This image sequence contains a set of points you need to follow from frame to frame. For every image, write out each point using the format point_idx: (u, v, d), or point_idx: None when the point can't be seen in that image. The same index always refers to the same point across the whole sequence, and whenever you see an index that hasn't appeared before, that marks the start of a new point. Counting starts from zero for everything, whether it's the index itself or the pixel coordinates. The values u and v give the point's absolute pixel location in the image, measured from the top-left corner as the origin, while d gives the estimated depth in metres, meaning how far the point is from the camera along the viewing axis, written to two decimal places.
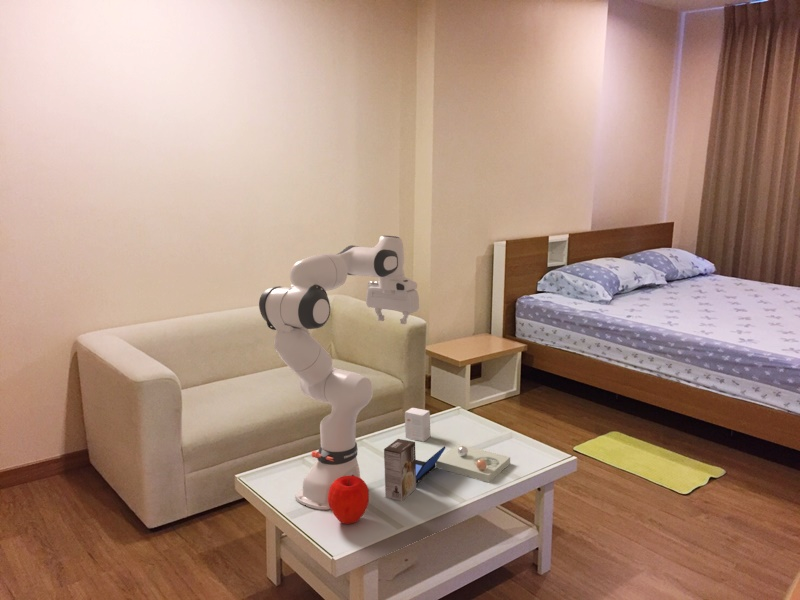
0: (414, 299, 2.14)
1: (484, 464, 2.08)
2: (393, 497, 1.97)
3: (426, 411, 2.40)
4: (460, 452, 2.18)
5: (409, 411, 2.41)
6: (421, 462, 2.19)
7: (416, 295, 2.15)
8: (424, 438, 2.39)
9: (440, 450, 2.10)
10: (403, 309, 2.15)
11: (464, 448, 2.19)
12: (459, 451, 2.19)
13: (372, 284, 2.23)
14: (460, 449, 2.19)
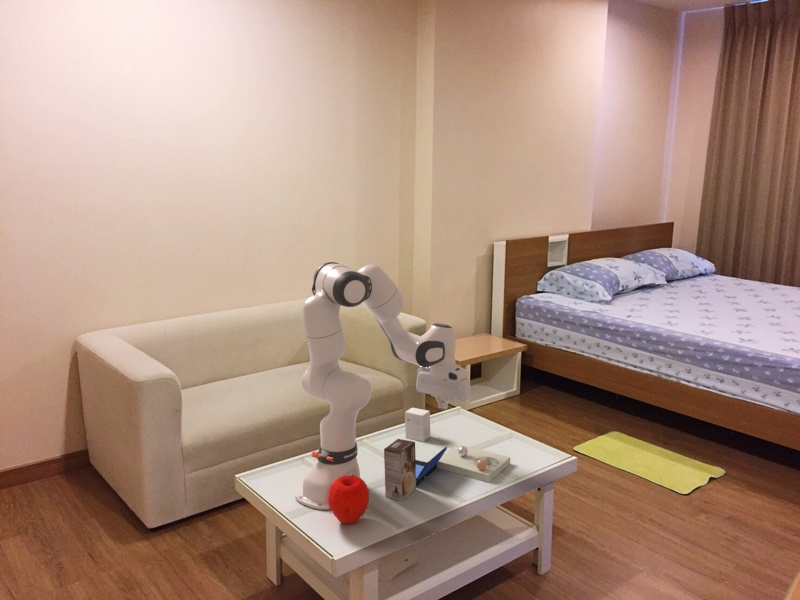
0: (467, 388, 2.14)
1: (484, 464, 2.08)
2: (393, 497, 1.97)
3: (426, 411, 2.40)
4: (460, 452, 2.18)
5: (409, 411, 2.41)
6: (422, 462, 2.18)
7: (468, 383, 2.15)
8: (424, 438, 2.39)
9: (442, 450, 2.10)
10: (455, 397, 2.16)
11: (464, 448, 2.19)
12: (459, 451, 2.19)
13: (422, 369, 2.23)
14: (460, 449, 2.19)
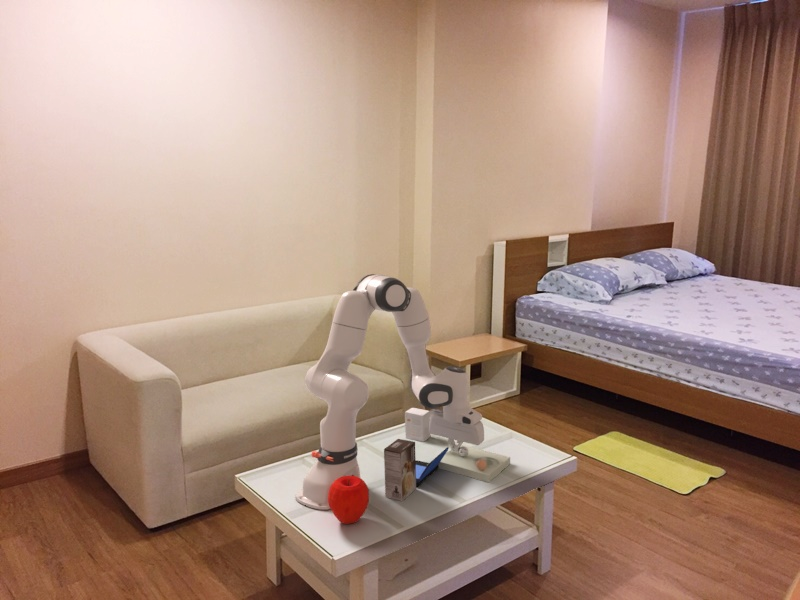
0: (480, 432, 2.14)
1: (484, 464, 2.08)
2: (393, 497, 1.97)
3: (426, 411, 2.40)
4: (461, 452, 2.18)
5: (409, 411, 2.41)
6: (424, 463, 2.18)
7: (482, 427, 2.15)
8: (424, 438, 2.39)
9: (444, 451, 2.09)
10: (468, 441, 2.16)
11: (465, 449, 2.19)
12: (460, 451, 2.19)
13: (435, 411, 2.24)
14: (461, 449, 2.19)
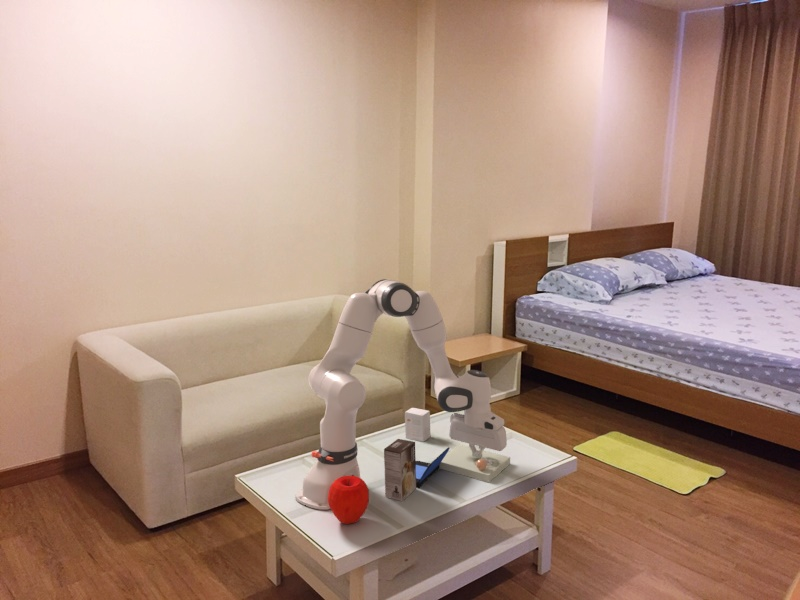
0: (503, 438, 2.09)
1: (484, 464, 2.08)
2: (393, 497, 1.97)
3: (426, 411, 2.40)
4: None
5: (409, 411, 2.41)
6: (425, 463, 2.18)
7: (504, 433, 2.10)
8: (424, 438, 2.39)
9: (445, 451, 2.09)
10: (490, 447, 2.11)
11: (489, 461, 2.14)
12: None
13: (455, 416, 2.19)
14: None
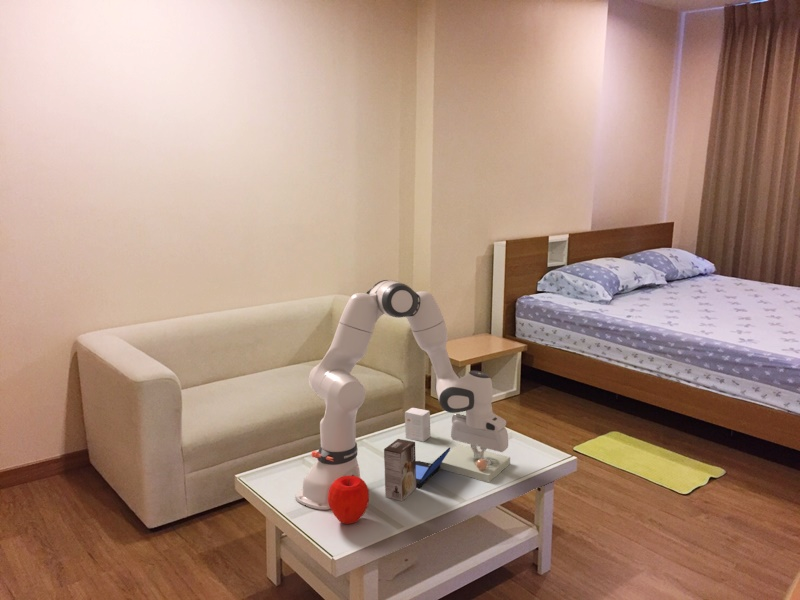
0: (504, 439, 2.09)
1: (484, 464, 2.08)
2: (393, 497, 1.97)
3: (426, 411, 2.40)
4: None
5: (409, 411, 2.41)
6: (425, 463, 2.18)
7: (506, 434, 2.10)
8: (424, 438, 2.39)
9: (445, 451, 2.09)
10: (492, 448, 2.11)
11: (487, 461, 2.14)
12: None
13: (457, 417, 2.18)
14: None
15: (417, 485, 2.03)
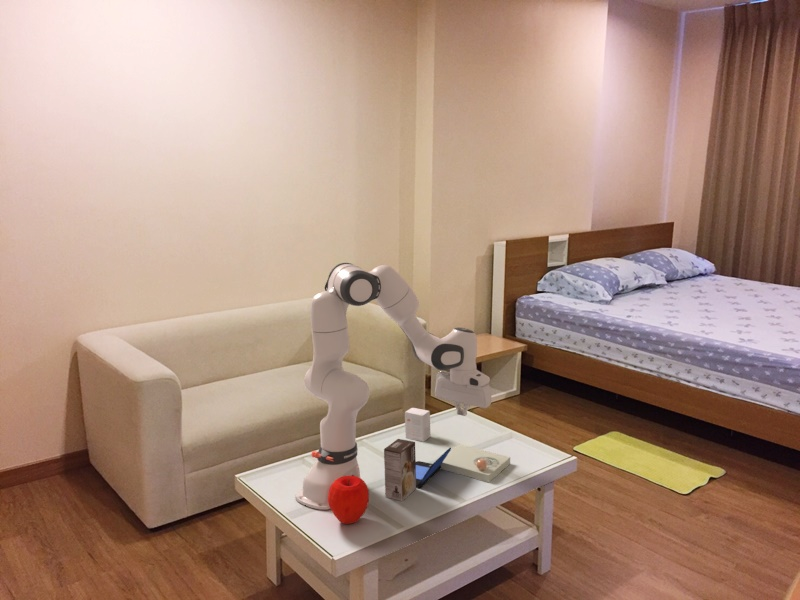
0: (488, 395, 2.10)
1: (484, 464, 2.08)
2: (393, 497, 1.97)
3: (426, 411, 2.40)
4: None
5: (409, 411, 2.41)
6: (426, 464, 2.17)
7: (489, 390, 2.11)
8: (424, 438, 2.39)
9: (446, 451, 2.09)
10: (475, 404, 2.11)
11: (485, 460, 2.15)
12: None
13: (441, 374, 2.19)
14: None
15: (418, 485, 2.03)
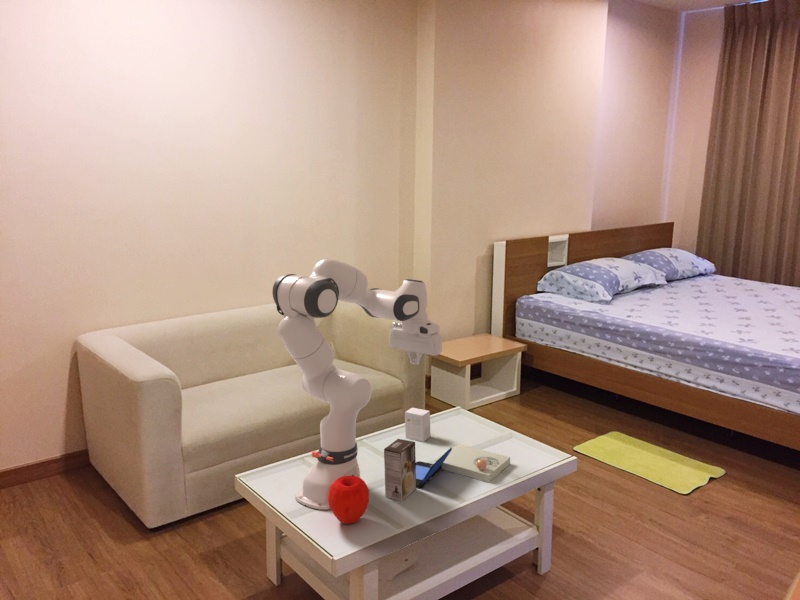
0: (437, 343, 2.16)
1: (484, 464, 2.08)
2: (393, 497, 1.97)
3: (426, 411, 2.40)
4: None
5: (409, 411, 2.41)
6: (427, 464, 2.17)
7: (439, 338, 2.17)
8: (424, 438, 2.39)
9: (447, 451, 2.09)
10: (426, 352, 2.18)
11: None
12: None
13: (394, 325, 2.26)
14: None
15: (419, 486, 2.03)
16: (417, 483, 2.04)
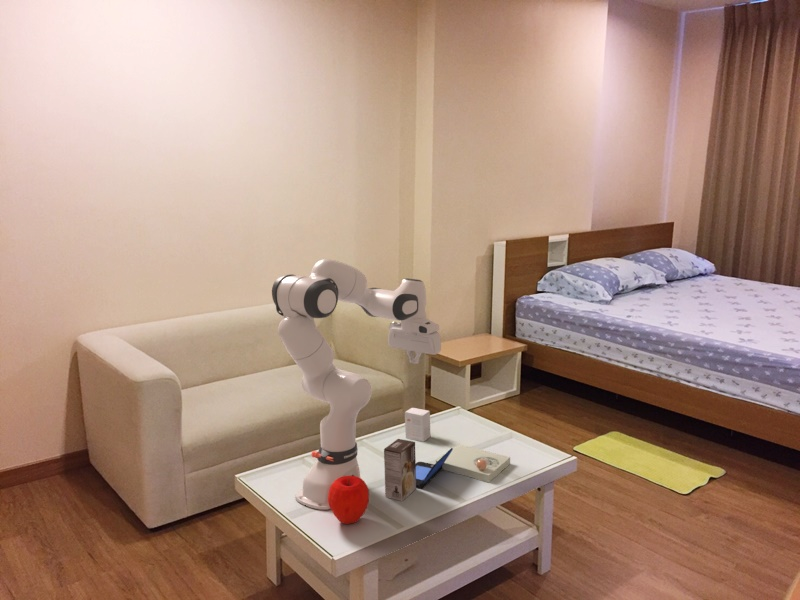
0: (437, 342, 2.17)
1: (484, 464, 2.08)
2: (393, 497, 1.97)
3: (426, 411, 2.40)
4: None
5: (409, 411, 2.41)
6: (427, 464, 2.17)
7: (438, 337, 2.18)
8: (424, 438, 2.39)
9: (448, 452, 2.09)
10: (425, 351, 2.18)
11: None
12: None
13: (393, 325, 2.26)
14: None
15: (420, 486, 2.03)
16: (418, 483, 2.04)
